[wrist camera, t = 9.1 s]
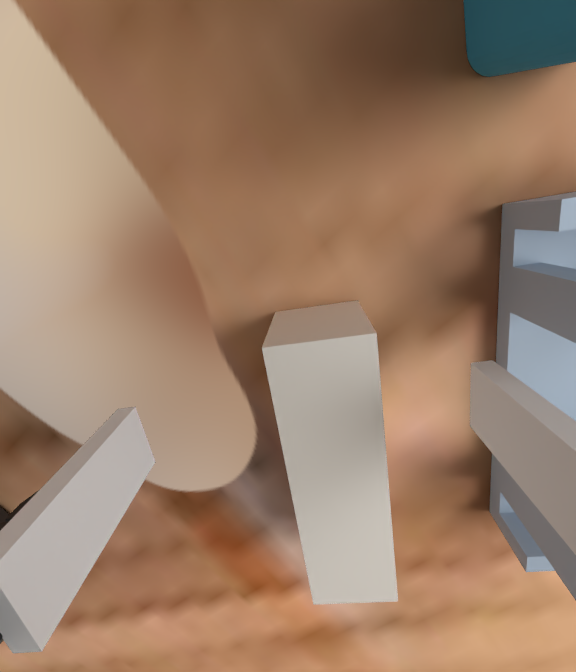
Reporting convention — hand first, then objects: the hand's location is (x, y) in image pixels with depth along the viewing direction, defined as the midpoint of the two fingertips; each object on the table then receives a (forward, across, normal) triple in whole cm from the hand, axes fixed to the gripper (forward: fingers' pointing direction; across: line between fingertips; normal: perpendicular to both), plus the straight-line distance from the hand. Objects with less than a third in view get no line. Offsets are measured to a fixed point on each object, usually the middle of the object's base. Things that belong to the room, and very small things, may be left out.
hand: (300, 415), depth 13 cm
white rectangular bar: (+4, +1, -4) cm, 6 cm away
